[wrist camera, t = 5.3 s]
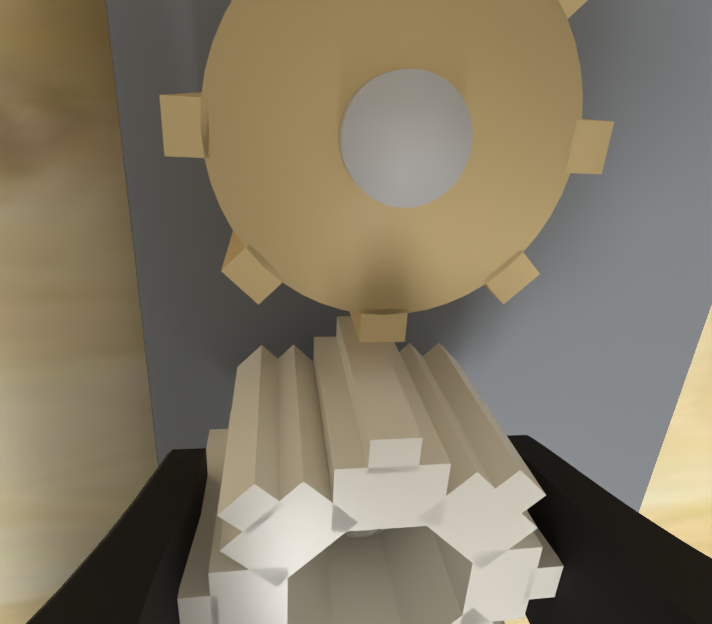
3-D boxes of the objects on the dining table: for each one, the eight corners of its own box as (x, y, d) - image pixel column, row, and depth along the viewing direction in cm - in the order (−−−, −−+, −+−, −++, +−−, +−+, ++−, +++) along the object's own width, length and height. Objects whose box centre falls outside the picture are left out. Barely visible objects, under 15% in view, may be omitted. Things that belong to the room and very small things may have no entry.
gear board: (590, 576, 19) (706, 756, 14) (183, 612, 16) (143, 842, 11) (816, -120, 11) (1290, -301, 6) (97, -225, 9) (-151, -659, 4)
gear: (177, 501, 12) (133, 690, 8) (276, 278, 10) (276, 390, 6) (399, 555, 13) (446, 731, 10) (516, 373, 12) (627, 504, 8)
